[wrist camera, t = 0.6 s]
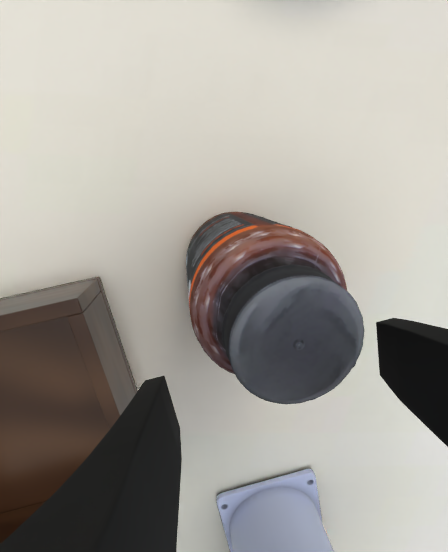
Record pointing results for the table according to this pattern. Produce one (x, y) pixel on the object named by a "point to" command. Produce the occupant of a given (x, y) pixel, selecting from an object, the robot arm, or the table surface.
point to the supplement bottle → (272, 307)
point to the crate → (55, 390)
